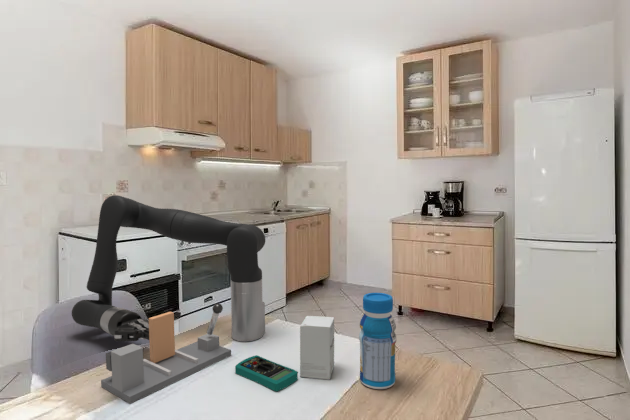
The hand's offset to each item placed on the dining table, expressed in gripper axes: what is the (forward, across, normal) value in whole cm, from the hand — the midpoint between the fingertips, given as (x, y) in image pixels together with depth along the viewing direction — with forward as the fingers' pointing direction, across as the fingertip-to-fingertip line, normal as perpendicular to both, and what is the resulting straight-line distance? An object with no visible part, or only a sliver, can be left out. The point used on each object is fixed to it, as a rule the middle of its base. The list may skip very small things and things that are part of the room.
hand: (156, 336), depth 100 cm
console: (+6, 0, +7) cm, 9 cm away
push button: (+2, -11, +3) cm, 12 cm away
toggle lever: (+6, +12, +2) cm, 13 cm away
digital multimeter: (+27, +11, +8) cm, 30 cm away
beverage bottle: (+50, +24, +7) cm, 56 cm away
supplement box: (+36, +20, +7) cm, 42 cm away
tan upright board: (+2, 0, +5) cm, 6 cm away
